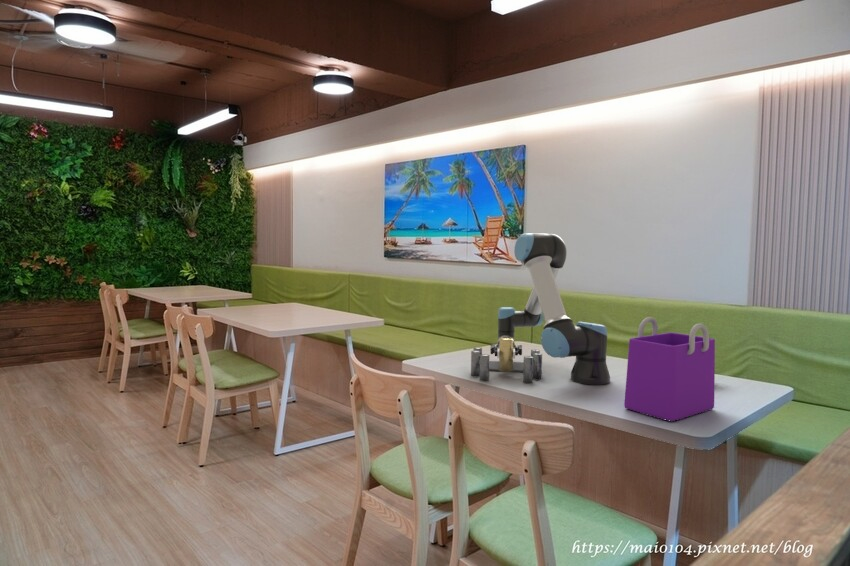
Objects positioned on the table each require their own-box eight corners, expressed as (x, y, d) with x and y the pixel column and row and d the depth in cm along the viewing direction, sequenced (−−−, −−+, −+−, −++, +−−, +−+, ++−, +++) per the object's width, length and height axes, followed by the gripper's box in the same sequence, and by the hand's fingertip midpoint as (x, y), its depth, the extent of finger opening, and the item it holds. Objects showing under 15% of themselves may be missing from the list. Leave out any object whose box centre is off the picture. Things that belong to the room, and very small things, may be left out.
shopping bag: (689, 427, 163) (694, 328, 161) (619, 411, 178) (622, 320, 176) (717, 407, 183) (722, 319, 181) (652, 394, 198) (655, 313, 196)
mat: (523, 364, 246) (523, 362, 246) (524, 372, 230) (525, 370, 230) (488, 362, 248) (488, 360, 248) (486, 370, 233) (487, 368, 232)
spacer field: (540, 373, 229) (540, 349, 228) (543, 383, 212) (543, 358, 211) (472, 370, 233) (472, 347, 232) (469, 380, 216) (470, 355, 215)
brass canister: (515, 370, 223) (516, 338, 222) (506, 372, 219) (507, 340, 218) (505, 368, 227) (505, 337, 226) (496, 370, 223) (496, 338, 222)
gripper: (527, 354, 240) (529, 365, 217) (484, 352, 242) (482, 363, 219) (527, 337, 239) (530, 346, 216) (485, 336, 242) (483, 344, 219)
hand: (506, 354), depth 218 cm, fingers closed on brass canister, 6 cm apart
